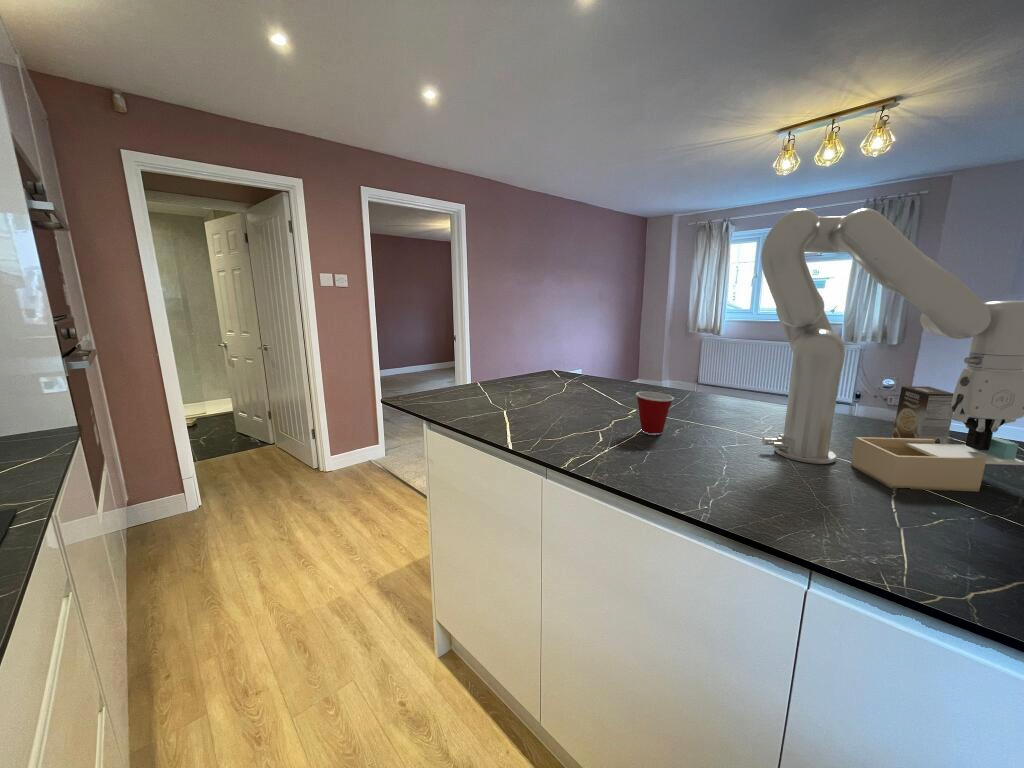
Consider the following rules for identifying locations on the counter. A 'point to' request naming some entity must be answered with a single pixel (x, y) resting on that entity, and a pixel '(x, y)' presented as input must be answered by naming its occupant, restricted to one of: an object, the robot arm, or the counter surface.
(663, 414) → the plastic cup
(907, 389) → the coffee box
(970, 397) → the robot arm
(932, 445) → the lid
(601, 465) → the counter surface
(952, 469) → the box
